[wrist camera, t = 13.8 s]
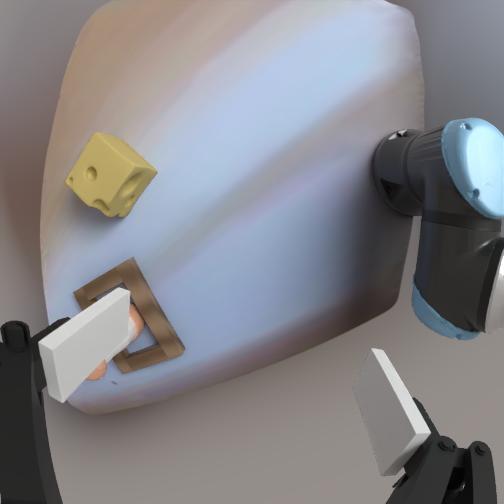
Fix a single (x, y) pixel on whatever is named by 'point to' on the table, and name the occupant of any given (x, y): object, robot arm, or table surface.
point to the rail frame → (148, 308)
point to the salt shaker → (134, 330)
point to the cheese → (110, 175)
